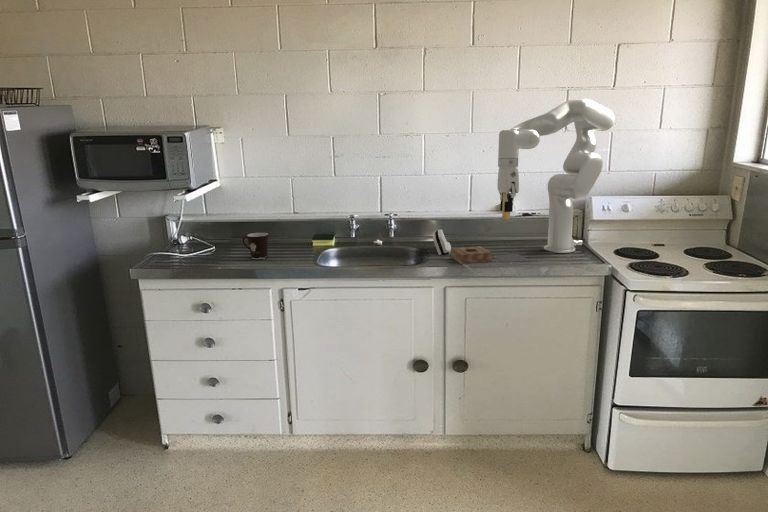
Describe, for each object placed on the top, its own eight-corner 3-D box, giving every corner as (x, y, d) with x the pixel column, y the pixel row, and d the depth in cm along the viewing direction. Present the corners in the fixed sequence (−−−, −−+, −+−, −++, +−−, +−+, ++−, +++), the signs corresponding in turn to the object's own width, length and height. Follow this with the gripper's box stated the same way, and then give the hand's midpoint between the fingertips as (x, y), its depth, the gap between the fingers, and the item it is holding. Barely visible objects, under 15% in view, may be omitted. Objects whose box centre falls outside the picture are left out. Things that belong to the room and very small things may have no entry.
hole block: (480, 255, 231) (480, 246, 230) (491, 262, 219) (491, 252, 218) (452, 257, 228) (452, 248, 227) (461, 264, 217) (461, 254, 216)
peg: (508, 218, 222) (508, 192, 219) (511, 219, 219) (512, 193, 217) (500, 218, 221) (501, 192, 219) (504, 219, 218) (504, 193, 216)
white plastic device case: (450, 254, 234) (442, 232, 232) (440, 258, 235) (431, 236, 233) (451, 246, 250) (443, 225, 248) (440, 249, 251) (433, 228, 249)
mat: (517, 255, 230) (517, 253, 230) (529, 261, 220) (529, 259, 219) (491, 257, 228) (491, 255, 228) (502, 263, 218) (502, 262, 217)
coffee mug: (273, 258, 236) (271, 234, 234) (254, 261, 231) (252, 237, 228) (260, 253, 245) (259, 231, 242) (242, 256, 239) (240, 233, 237)
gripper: (526, 164, 208) (524, 213, 212) (508, 161, 224) (506, 207, 228) (507, 164, 207) (506, 214, 211) (490, 162, 222) (489, 208, 226)
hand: (506, 210), depth 219 cm, fingers closed on peg, 3 cm apart
